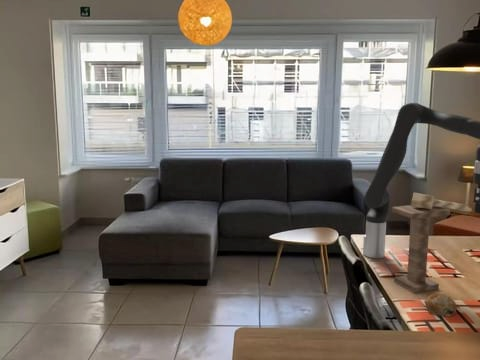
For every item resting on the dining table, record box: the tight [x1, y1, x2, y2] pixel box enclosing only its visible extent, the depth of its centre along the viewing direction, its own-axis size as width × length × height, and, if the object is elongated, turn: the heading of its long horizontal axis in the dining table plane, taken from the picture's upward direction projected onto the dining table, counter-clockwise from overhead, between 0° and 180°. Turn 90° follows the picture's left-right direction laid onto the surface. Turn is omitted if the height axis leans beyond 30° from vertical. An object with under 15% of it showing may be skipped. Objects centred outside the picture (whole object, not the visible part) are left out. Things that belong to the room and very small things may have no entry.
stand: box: [391, 204, 451, 294], centre depth 189 cm, size 18×12×32 cm, turn 109°
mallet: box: [410, 192, 467, 212], centre depth 189 cm, size 24×5×5 cm, turn 109°
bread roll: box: [423, 292, 457, 317], centre depth 169 cm, size 10×10×8 cm
